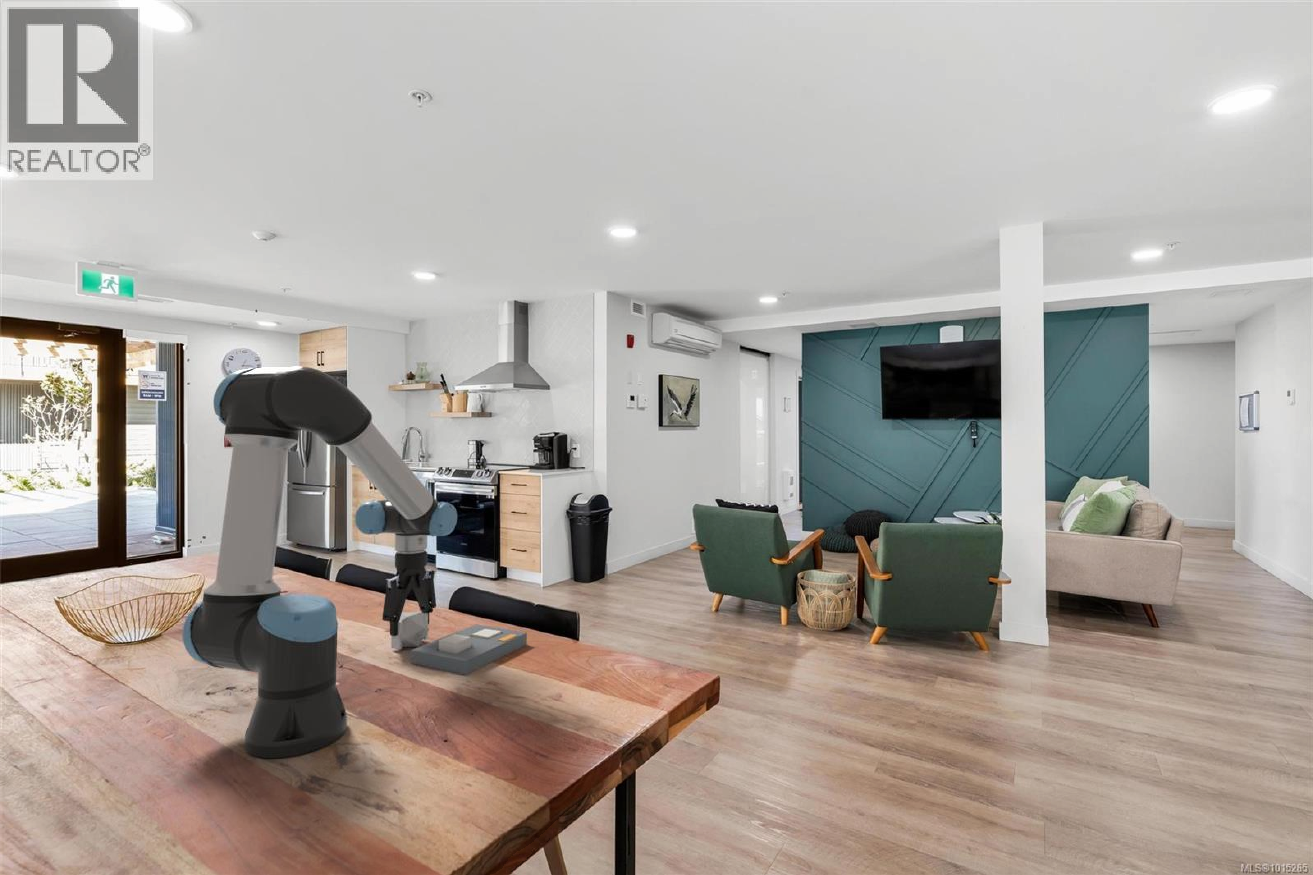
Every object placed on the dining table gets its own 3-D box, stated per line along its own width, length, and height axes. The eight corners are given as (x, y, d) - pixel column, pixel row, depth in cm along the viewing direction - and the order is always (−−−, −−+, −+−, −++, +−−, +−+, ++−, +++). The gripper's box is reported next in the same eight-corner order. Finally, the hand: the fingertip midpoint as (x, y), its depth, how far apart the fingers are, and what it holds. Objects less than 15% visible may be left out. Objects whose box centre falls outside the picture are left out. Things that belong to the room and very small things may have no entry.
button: (455, 657, 139) (455, 643, 139) (438, 654, 141) (438, 640, 141) (470, 650, 143) (471, 636, 143) (454, 647, 146) (454, 633, 146)
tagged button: (487, 650, 149) (488, 637, 149) (471, 647, 151) (471, 634, 151) (501, 644, 153) (501, 631, 153) (485, 641, 156) (485, 628, 156)
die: (407, 655, 147) (432, 619, 150) (377, 636, 147) (403, 601, 151) (415, 656, 154) (439, 622, 158) (387, 638, 155) (411, 604, 158)
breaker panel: (465, 674, 134) (465, 660, 134) (410, 663, 141) (410, 649, 141) (526, 644, 154) (526, 631, 154) (476, 635, 161) (476, 623, 161)
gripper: (388, 559, 142) (387, 658, 142) (452, 546, 160) (451, 634, 160) (365, 556, 145) (364, 653, 145) (430, 544, 164) (429, 630, 163)
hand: (409, 643), depth 152 cm, fingers closed on die, 7 cm apart
